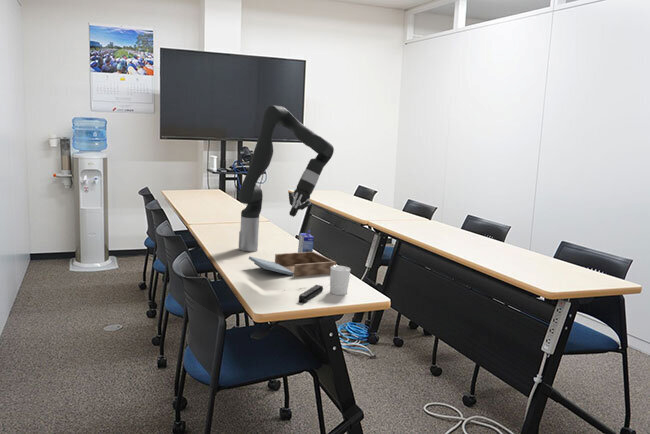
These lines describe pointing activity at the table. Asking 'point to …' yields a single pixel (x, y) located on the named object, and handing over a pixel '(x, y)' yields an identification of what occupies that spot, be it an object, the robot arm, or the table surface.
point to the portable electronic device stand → (310, 293)
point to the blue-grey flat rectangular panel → (270, 266)
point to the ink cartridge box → (305, 242)
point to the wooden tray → (305, 263)
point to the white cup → (339, 279)
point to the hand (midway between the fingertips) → (291, 215)
